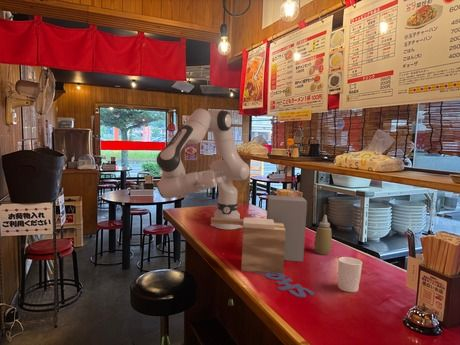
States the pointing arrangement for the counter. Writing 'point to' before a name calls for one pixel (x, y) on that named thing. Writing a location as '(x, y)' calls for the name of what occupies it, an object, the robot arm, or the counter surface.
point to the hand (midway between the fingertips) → (224, 175)
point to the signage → (287, 284)
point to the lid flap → (246, 222)
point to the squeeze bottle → (323, 237)
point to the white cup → (349, 273)
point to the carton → (290, 223)
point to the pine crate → (263, 249)
